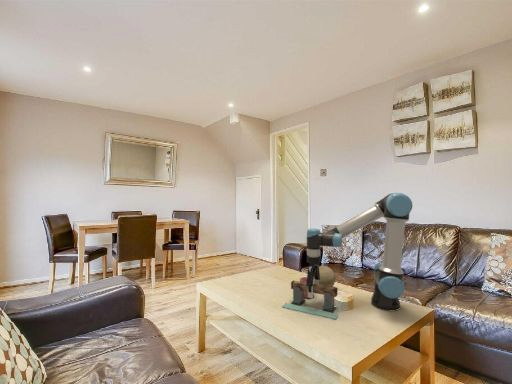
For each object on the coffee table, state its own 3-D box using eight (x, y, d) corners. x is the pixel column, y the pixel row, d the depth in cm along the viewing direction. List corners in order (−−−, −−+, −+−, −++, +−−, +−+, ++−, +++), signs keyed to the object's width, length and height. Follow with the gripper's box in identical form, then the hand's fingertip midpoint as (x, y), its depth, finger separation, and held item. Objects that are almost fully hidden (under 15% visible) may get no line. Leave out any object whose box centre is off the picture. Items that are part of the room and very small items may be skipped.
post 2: (336, 307, 149) (336, 289, 149) (332, 313, 141) (332, 294, 141) (326, 305, 152) (325, 287, 152) (321, 311, 144) (321, 292, 144)
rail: (337, 294, 146) (337, 287, 146) (335, 297, 143) (335, 289, 143) (293, 286, 159) (293, 280, 159) (291, 288, 156) (291, 282, 156)
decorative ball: (340, 290, 175) (340, 268, 175) (321, 293, 169) (321, 270, 169) (326, 283, 189) (326, 262, 189) (308, 286, 183) (308, 264, 183)
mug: (305, 300, 159) (305, 282, 159) (296, 295, 167) (296, 278, 167) (321, 296, 164) (321, 279, 165) (311, 292, 173) (311, 275, 173)
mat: (338, 315, 139) (338, 314, 139) (336, 319, 134) (336, 318, 134) (285, 303, 154) (285, 302, 154) (281, 307, 149) (281, 306, 149)
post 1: (305, 301, 158) (305, 284, 158) (300, 306, 150) (300, 288, 150) (296, 299, 161) (296, 282, 161) (290, 304, 153) (290, 287, 153)
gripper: (313, 251, 163) (313, 286, 163) (300, 259, 143) (300, 300, 143) (325, 252, 160) (325, 289, 159) (313, 261, 139) (313, 302, 139)
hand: (313, 294), depth 151 cm, fingers open, 11 cm apart
